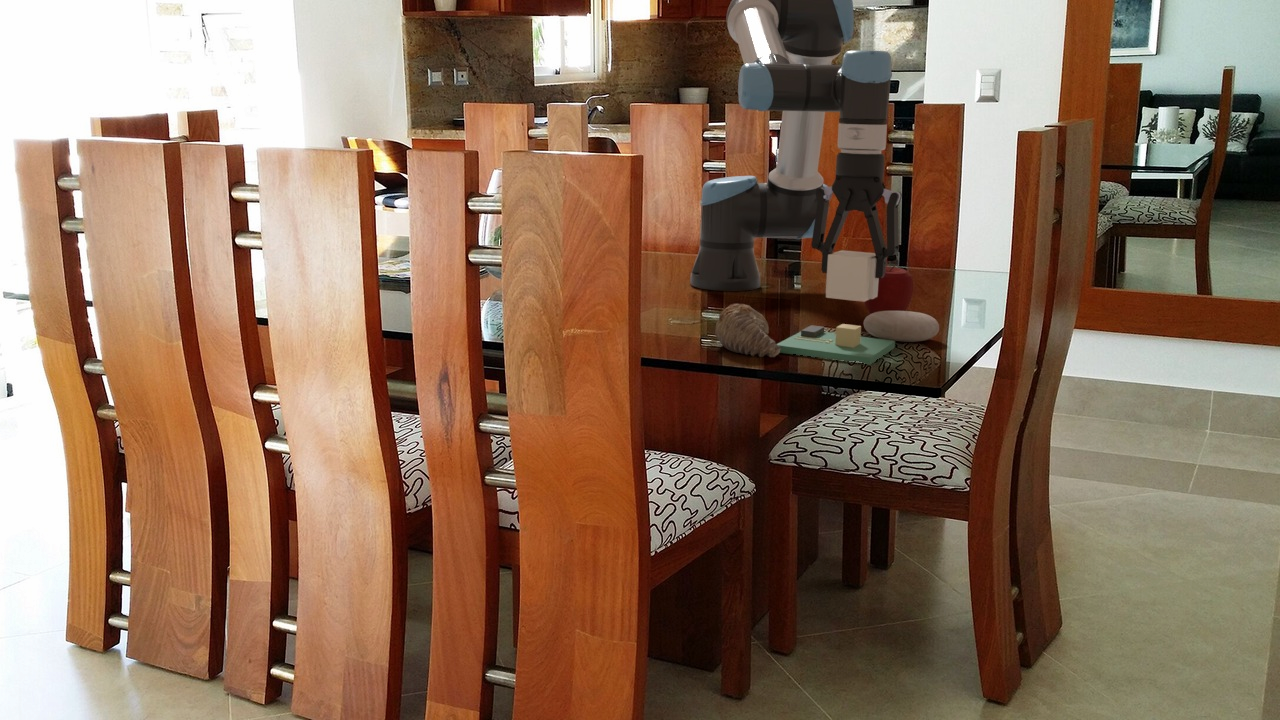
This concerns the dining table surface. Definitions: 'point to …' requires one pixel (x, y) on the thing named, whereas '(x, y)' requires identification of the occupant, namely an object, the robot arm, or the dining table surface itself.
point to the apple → (892, 291)
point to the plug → (849, 275)
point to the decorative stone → (901, 326)
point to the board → (836, 344)
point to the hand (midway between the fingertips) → (851, 295)
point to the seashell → (745, 331)
